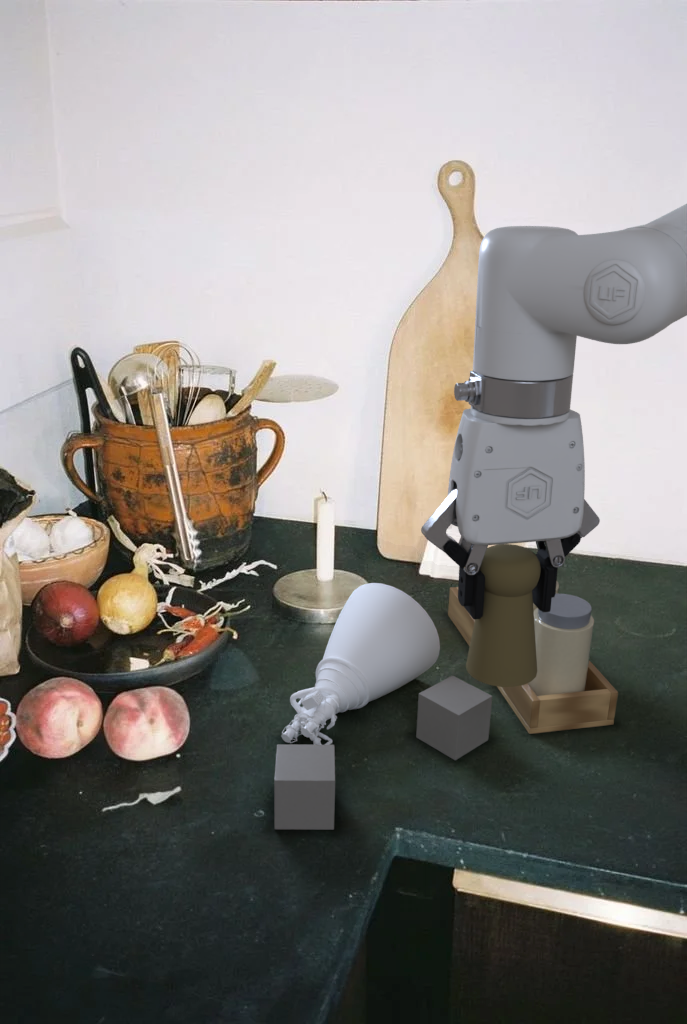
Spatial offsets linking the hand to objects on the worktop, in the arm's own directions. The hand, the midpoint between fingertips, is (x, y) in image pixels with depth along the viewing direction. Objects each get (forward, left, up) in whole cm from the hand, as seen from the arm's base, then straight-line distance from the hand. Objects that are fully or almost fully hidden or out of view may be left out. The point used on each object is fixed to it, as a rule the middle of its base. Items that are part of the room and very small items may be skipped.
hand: (505, 606), depth 78 cm
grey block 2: (+8, +1, -18) cm, 20 cm away
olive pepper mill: (0, 0, -6) cm, 6 cm away
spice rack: (+20, -11, -18) cm, 29 cm away
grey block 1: (0, +17, -18) cm, 25 cm away
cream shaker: (+12, -11, -18) cm, 24 cm away
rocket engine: (+16, +10, -18) cm, 26 cm away
